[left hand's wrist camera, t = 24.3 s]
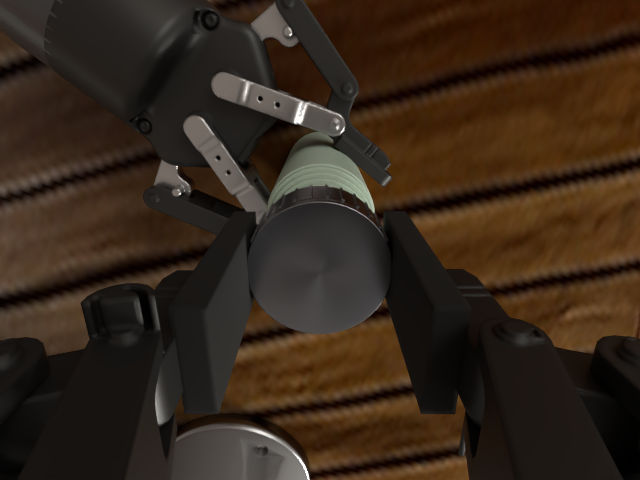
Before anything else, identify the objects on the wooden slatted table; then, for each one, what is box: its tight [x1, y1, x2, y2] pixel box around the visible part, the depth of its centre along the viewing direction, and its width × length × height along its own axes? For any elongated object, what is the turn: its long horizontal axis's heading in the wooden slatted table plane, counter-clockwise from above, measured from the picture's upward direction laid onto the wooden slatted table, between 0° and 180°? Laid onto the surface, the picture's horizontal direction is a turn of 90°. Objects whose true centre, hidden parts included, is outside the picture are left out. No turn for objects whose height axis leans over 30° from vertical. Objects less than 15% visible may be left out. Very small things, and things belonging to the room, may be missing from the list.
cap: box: [247, 185, 392, 334], centre depth 13 cm, size 5×5×2 cm
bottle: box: [267, 132, 374, 213], centre depth 21 cm, size 5×5×17 cm
